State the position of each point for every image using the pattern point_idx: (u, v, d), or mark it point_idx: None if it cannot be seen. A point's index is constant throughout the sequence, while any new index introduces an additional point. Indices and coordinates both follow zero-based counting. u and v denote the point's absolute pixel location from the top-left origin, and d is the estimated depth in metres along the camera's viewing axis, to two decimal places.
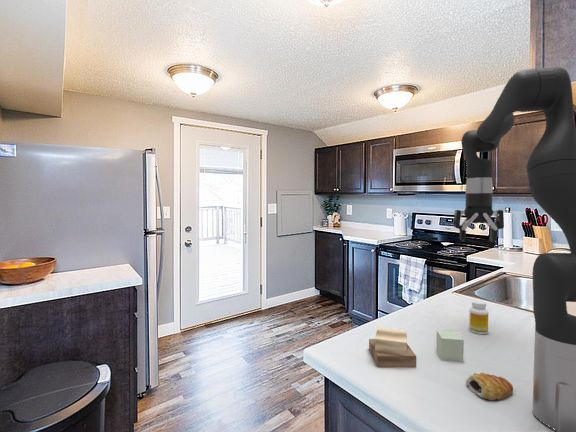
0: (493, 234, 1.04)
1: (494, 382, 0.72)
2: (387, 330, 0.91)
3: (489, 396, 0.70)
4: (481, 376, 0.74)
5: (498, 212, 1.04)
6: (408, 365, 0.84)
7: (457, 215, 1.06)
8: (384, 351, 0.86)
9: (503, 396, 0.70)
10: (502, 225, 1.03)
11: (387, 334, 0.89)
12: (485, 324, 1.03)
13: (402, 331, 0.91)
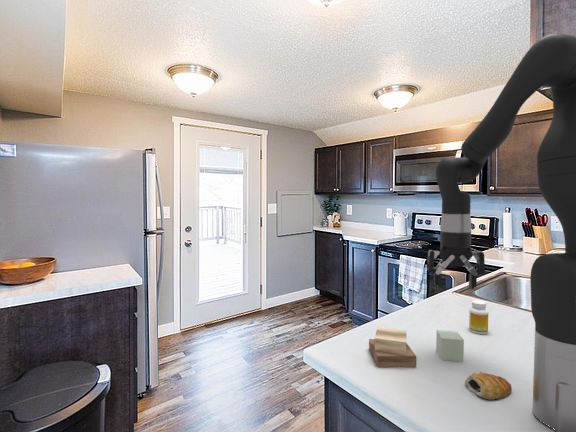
0: (472, 280, 0.88)
1: (493, 381, 0.72)
2: (387, 330, 0.92)
3: (488, 395, 0.70)
4: (480, 375, 0.74)
5: (478, 254, 0.88)
6: (408, 365, 0.84)
7: (430, 257, 0.90)
8: (384, 350, 0.86)
9: (502, 395, 0.71)
10: (483, 270, 0.87)
11: (387, 334, 0.89)
12: (485, 324, 1.03)
13: (402, 331, 0.91)
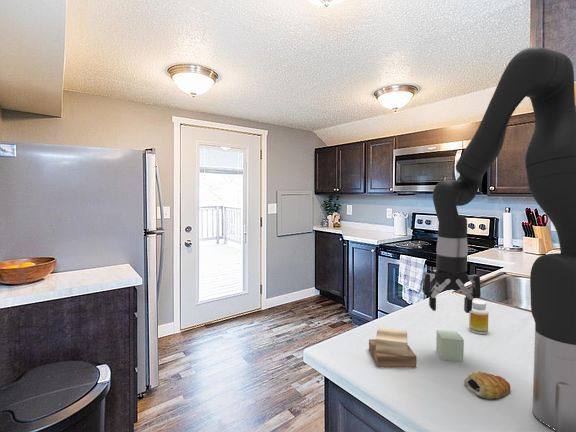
0: (468, 304, 0.87)
1: (492, 381, 0.72)
2: (387, 330, 0.91)
3: (487, 395, 0.70)
4: (479, 375, 0.74)
5: (474, 278, 0.87)
6: (408, 365, 0.84)
7: (426, 280, 0.89)
8: (385, 351, 0.86)
9: (501, 395, 0.71)
10: (478, 294, 0.86)
11: (388, 334, 0.89)
12: (485, 324, 1.03)
13: (402, 331, 0.91)
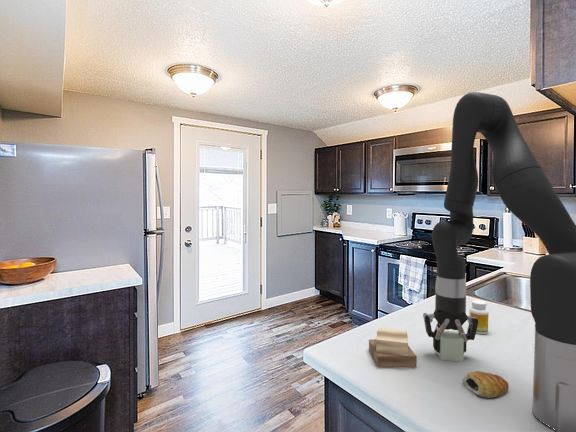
0: None
1: (490, 380, 0.72)
2: (387, 331, 0.91)
3: (486, 394, 0.71)
4: (477, 374, 0.74)
5: (472, 320, 0.87)
6: (408, 365, 0.84)
7: (426, 322, 0.89)
8: (385, 352, 0.85)
9: (499, 394, 0.71)
10: (473, 336, 0.87)
11: (388, 335, 0.88)
12: (485, 324, 1.03)
13: (402, 331, 0.90)
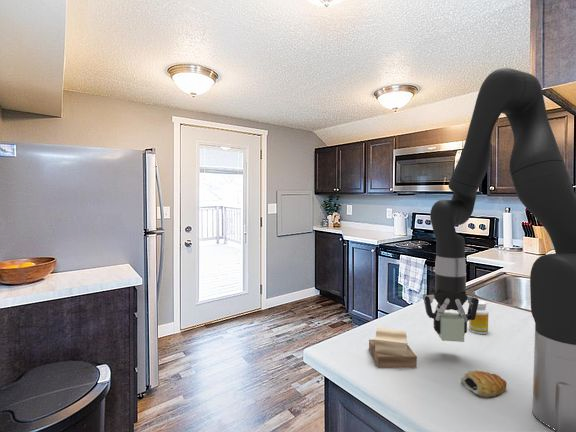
0: None
1: (488, 379, 0.73)
2: (386, 331, 0.91)
3: (484, 393, 0.71)
4: (476, 374, 0.75)
5: (473, 300, 0.87)
6: (408, 366, 0.84)
7: (426, 303, 0.89)
8: (384, 352, 0.85)
9: (498, 393, 0.72)
10: (473, 316, 0.87)
11: (387, 335, 0.88)
12: (485, 324, 1.03)
13: (401, 332, 0.90)
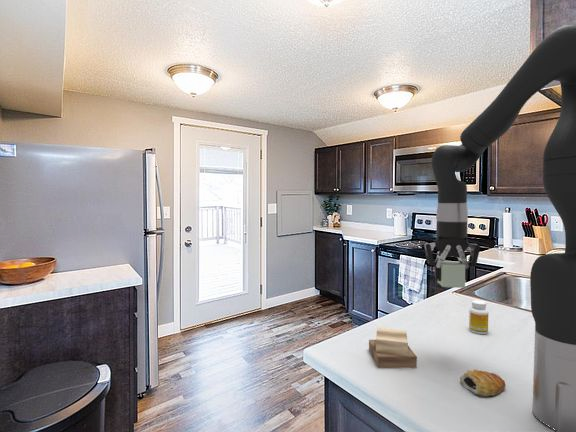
0: None
1: (487, 378, 0.73)
2: (387, 330, 0.91)
3: (483, 392, 0.71)
4: (475, 373, 0.75)
5: (474, 246, 0.86)
6: (408, 366, 0.84)
7: (427, 250, 0.88)
8: (385, 351, 0.86)
9: (496, 392, 0.72)
10: (474, 262, 0.86)
11: (388, 334, 0.89)
12: (485, 324, 1.03)
13: (402, 331, 0.91)
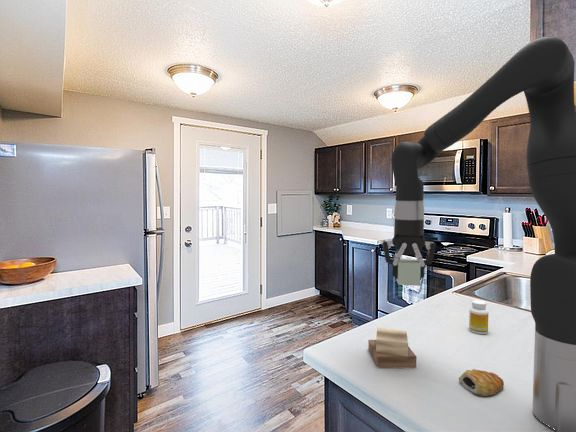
0: (420, 271, 0.87)
1: (486, 378, 0.73)
2: (387, 331, 0.91)
3: (482, 392, 0.71)
4: (474, 373, 0.75)
5: (430, 245, 0.86)
6: (408, 365, 0.84)
7: (384, 248, 0.88)
8: (385, 352, 0.85)
9: (495, 391, 0.72)
10: (430, 261, 0.86)
11: (388, 335, 0.88)
12: (485, 324, 1.03)
13: (402, 331, 0.91)
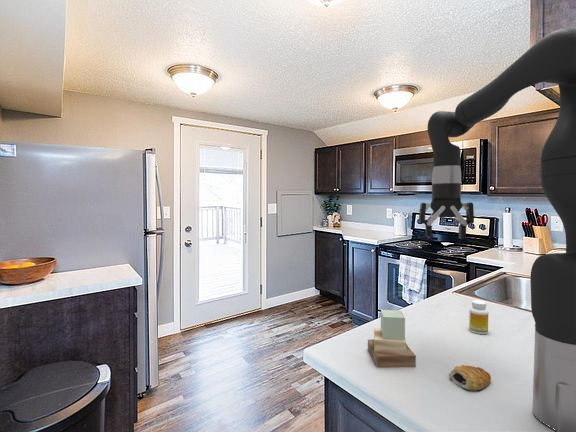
0: (462, 230, 0.92)
1: (475, 373, 0.75)
2: None
3: (473, 387, 0.73)
4: (463, 368, 0.77)
5: (468, 205, 0.91)
6: (408, 365, 0.84)
7: (422, 208, 0.94)
8: (384, 352, 0.86)
9: (484, 385, 0.74)
10: (472, 220, 0.91)
11: None
12: (485, 324, 1.03)
13: None
